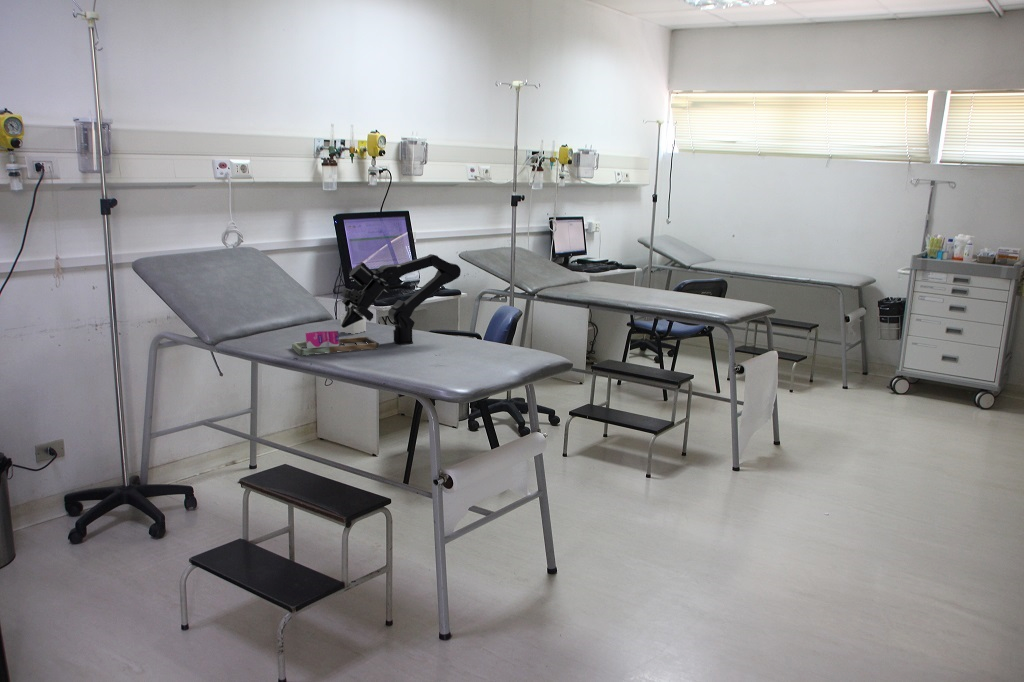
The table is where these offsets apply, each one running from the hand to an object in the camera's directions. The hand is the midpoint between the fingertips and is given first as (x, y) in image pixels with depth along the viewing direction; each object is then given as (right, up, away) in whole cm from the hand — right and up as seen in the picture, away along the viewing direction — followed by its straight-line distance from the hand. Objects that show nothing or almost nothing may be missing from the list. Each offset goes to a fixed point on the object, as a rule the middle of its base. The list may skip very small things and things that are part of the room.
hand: (342, 326), depth 294 cm
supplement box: (-3, -4, 0) cm, 5 cm away
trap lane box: (-3, -8, 0) cm, 8 cm away
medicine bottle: (-2, -2, +31) cm, 31 cm away
